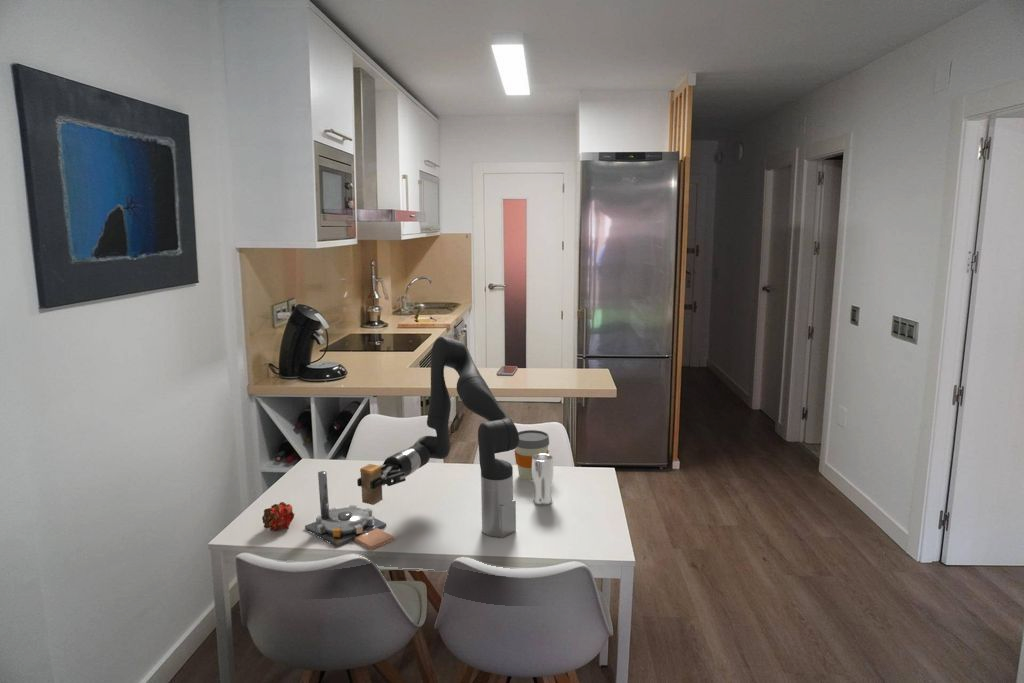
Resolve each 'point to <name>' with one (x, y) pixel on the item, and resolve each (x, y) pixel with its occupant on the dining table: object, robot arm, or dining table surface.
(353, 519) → the sprocket
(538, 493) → the silver metal cylinder
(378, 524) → the sprocket base
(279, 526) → the dragon fruit
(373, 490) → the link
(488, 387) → the robot arm
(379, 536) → the salmon brown square slab
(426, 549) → the dining table surface
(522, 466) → the reusable coffee cup
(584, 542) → the dining table surface
